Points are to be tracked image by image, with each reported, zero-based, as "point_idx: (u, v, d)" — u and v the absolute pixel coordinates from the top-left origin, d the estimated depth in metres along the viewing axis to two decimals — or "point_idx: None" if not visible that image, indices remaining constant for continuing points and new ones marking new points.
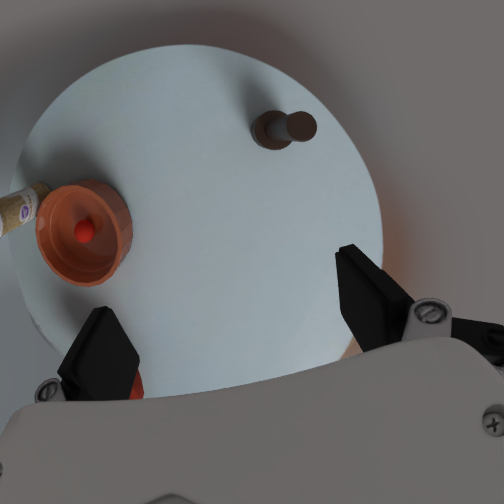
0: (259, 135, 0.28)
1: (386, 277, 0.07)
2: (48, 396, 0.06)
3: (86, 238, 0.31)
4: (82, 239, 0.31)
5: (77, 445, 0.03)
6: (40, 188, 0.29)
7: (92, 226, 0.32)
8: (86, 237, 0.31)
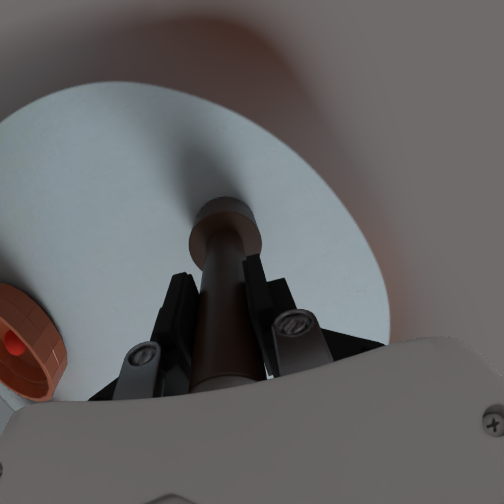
0: (198, 257, 0.17)
1: (265, 286, 0.09)
2: (143, 361, 0.07)
3: (17, 354, 0.20)
4: (13, 354, 0.20)
5: (77, 445, 0.03)
6: None
7: None
8: (16, 352, 0.20)
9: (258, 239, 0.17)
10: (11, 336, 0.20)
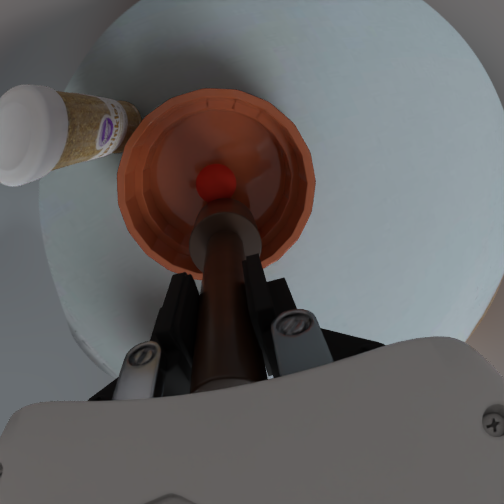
0: (198, 258, 0.17)
1: (265, 286, 0.09)
2: (143, 361, 0.07)
3: (226, 197, 0.20)
4: (218, 197, 0.19)
5: (77, 445, 0.03)
6: (127, 105, 0.17)
7: (234, 176, 0.20)
8: (227, 194, 0.20)
9: (258, 240, 0.17)
10: (222, 168, 0.19)
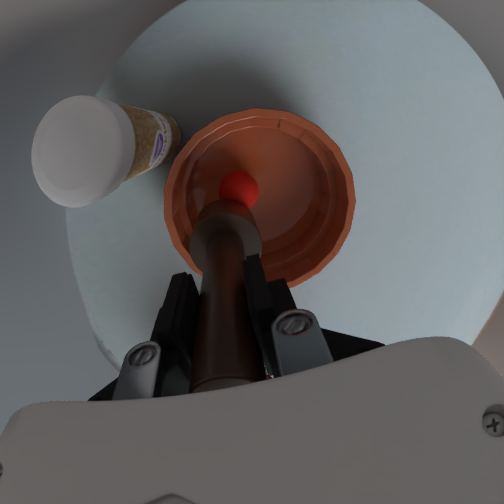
0: (198, 257, 0.17)
1: (265, 286, 0.09)
2: (143, 361, 0.07)
3: None
4: (227, 193, 0.20)
5: (77, 445, 0.03)
6: (167, 118, 0.18)
7: (254, 201, 0.21)
8: None
9: (259, 243, 0.17)
10: (254, 185, 0.20)
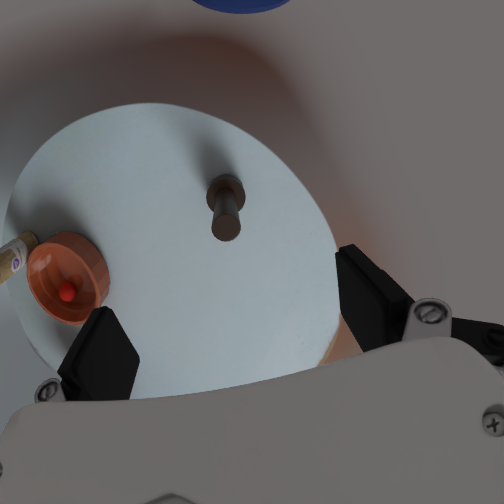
0: (211, 202, 0.31)
1: (386, 277, 0.07)
2: (48, 396, 0.06)
3: None
4: None
5: (77, 445, 0.03)
6: (28, 238, 0.32)
7: (74, 291, 0.36)
8: None
9: (243, 195, 0.31)
10: (70, 297, 0.35)
